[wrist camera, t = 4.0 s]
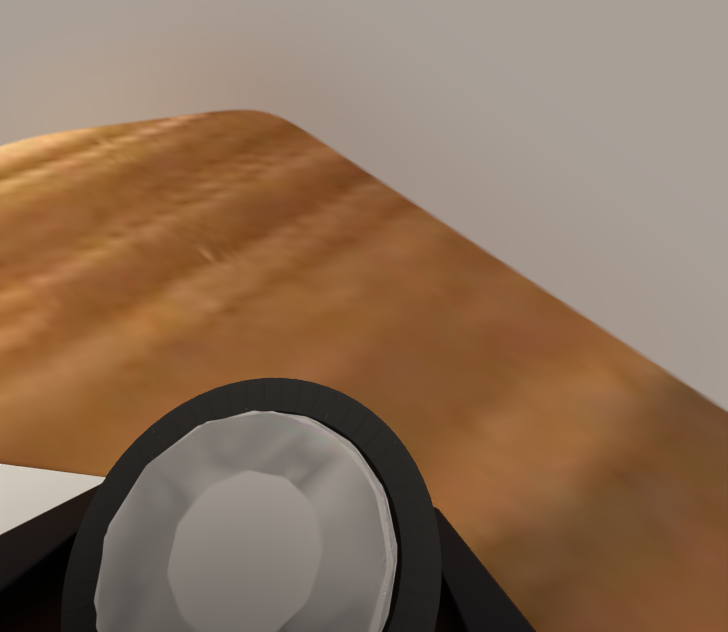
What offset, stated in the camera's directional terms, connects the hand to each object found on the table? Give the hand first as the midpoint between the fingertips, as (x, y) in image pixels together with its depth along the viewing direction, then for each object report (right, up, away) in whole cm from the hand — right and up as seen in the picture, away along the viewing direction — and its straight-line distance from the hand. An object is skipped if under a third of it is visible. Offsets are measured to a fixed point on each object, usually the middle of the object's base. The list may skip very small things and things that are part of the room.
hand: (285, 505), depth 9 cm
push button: (-1, -4, +5) cm, 7 cm away
